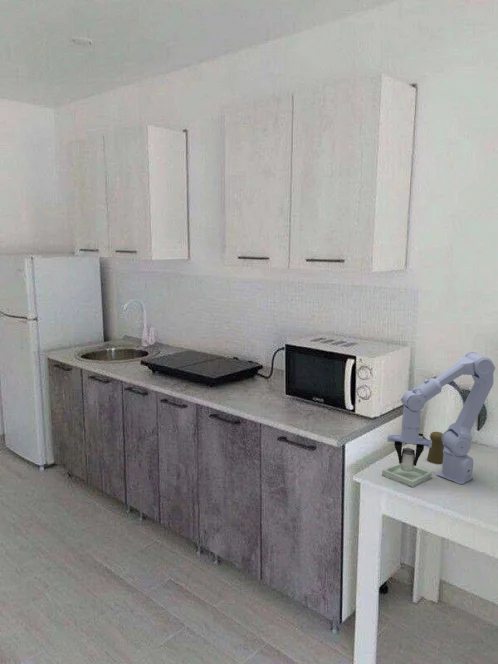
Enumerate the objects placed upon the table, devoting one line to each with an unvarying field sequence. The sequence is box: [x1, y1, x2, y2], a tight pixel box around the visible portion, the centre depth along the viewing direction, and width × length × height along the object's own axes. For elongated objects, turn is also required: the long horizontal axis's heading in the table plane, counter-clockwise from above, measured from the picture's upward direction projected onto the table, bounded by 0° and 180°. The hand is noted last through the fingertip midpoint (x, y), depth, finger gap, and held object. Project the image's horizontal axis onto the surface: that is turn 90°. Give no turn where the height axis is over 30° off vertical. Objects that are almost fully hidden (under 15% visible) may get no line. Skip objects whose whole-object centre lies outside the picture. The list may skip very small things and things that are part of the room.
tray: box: [381, 462, 433, 488], centre depth 181 cm, size 12×12×2 cm
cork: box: [426, 431, 444, 465], centre depth 195 cm, size 6×6×11 cm
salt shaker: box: [401, 447, 416, 472], centre depth 180 cm, size 4×4×7 cm
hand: (407, 463), depth 180 cm, fingers closed on salt shaker, 4 cm apart
